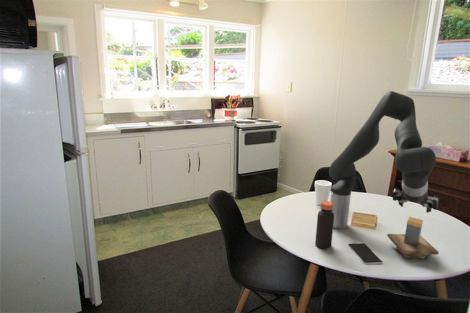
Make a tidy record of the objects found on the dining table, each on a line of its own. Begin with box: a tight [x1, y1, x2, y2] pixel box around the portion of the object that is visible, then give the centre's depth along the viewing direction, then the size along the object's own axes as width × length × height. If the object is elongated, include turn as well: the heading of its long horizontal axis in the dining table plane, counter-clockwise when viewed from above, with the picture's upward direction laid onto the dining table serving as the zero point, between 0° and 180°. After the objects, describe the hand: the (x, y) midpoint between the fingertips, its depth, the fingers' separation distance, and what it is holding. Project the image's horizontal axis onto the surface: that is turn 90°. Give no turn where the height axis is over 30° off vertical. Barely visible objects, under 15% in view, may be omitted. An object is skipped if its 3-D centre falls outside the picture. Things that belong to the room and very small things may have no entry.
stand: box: [387, 233, 440, 259], centre depth 130 cm, size 14×14×5 cm
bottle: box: [314, 200, 334, 250], centre depth 133 cm, size 7×7×20 cm
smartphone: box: [347, 242, 383, 265], centre depth 129 cm, size 8×1×15 cm
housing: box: [404, 216, 424, 246], centre depth 128 cm, size 5×5×10 cm
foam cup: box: [314, 179, 333, 207], centre depth 180 cm, size 10×9×13 cm
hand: (414, 207), depth 116 cm, fingers open, 8 cm apart
